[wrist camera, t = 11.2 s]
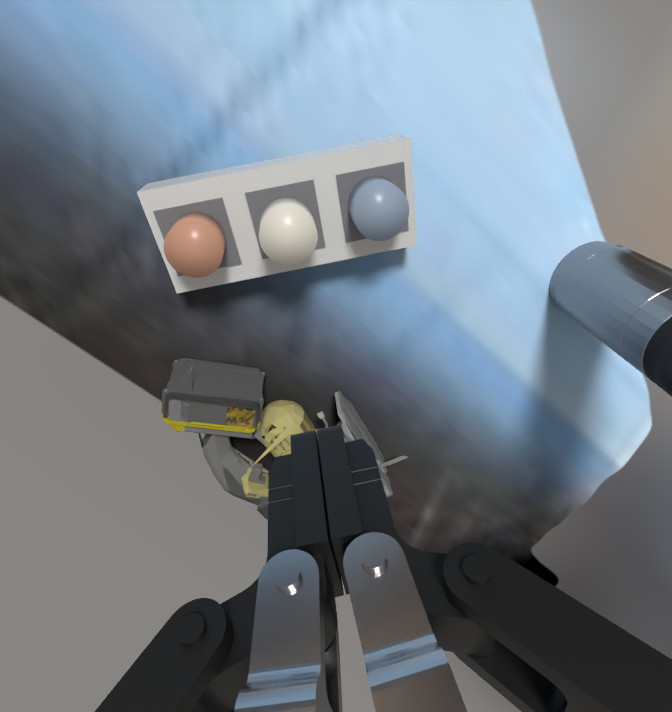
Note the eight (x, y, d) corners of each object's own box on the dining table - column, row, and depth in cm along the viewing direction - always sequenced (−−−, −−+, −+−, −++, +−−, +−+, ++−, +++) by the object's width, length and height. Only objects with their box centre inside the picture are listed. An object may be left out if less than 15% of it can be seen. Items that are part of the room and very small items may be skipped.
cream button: (308, 192, 39) (311, 201, 36) (318, 246, 41) (322, 259, 38) (253, 203, 38) (252, 213, 36) (267, 256, 41) (267, 270, 38)
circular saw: (407, 446, 65) (264, 502, 70) (319, 286, 49) (139, 373, 53) (425, 504, 57) (261, 564, 61) (326, 334, 40) (111, 433, 45)
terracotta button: (216, 207, 40) (212, 217, 37) (232, 258, 42) (229, 271, 40) (163, 217, 40) (154, 228, 37) (182, 268, 42) (175, 282, 39)
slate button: (397, 171, 40) (407, 178, 37) (401, 224, 43) (411, 235, 40) (344, 181, 40) (350, 189, 37) (352, 234, 43) (357, 245, 40)
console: (399, 134, 42) (411, 138, 39) (406, 233, 48) (417, 245, 44) (147, 183, 42) (136, 192, 38) (183, 278, 47) (176, 294, 44)
